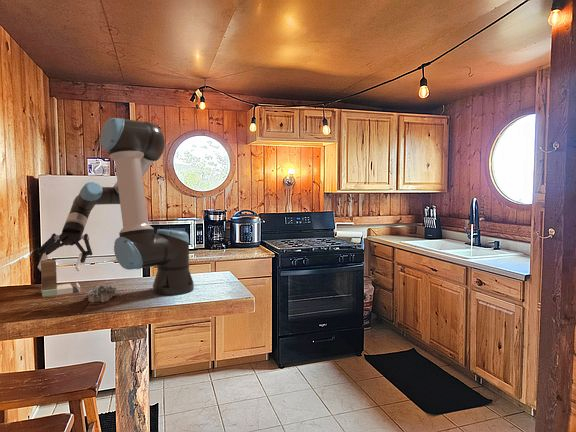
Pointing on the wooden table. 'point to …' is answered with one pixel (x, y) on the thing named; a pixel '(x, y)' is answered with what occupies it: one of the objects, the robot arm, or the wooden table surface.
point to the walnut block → (48, 275)
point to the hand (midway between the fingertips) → (58, 269)
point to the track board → (61, 290)
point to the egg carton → (101, 293)
